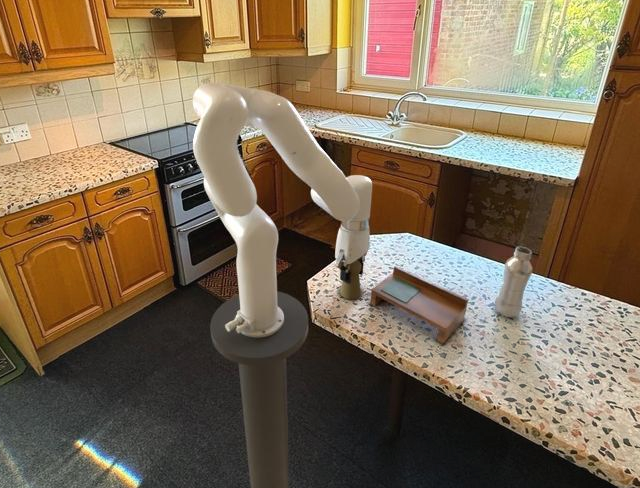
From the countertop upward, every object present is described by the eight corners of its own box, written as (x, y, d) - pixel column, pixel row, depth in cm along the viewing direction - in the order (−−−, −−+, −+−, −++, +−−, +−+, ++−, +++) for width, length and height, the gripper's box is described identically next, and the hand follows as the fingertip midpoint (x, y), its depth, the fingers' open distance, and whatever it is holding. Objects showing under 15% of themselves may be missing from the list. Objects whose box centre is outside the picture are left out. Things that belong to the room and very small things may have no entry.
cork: (337, 296, 115) (339, 265, 110) (342, 284, 120) (344, 254, 115) (358, 301, 113) (361, 269, 108) (362, 288, 118) (365, 257, 114)
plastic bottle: (506, 323, 105) (525, 260, 97) (487, 307, 111) (503, 246, 102) (524, 317, 108) (544, 254, 99) (505, 301, 113) (522, 241, 104)
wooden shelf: (443, 344, 99) (447, 322, 96) (370, 303, 112) (371, 283, 109) (463, 320, 107) (468, 299, 103) (393, 284, 120) (395, 265, 117)
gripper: (362, 206, 114) (358, 259, 122) (323, 227, 103) (321, 284, 111) (385, 215, 109) (379, 269, 117) (346, 238, 98) (342, 296, 106)
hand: (351, 276), depth 114 cm, fingers closed on cork, 5 cm apart
